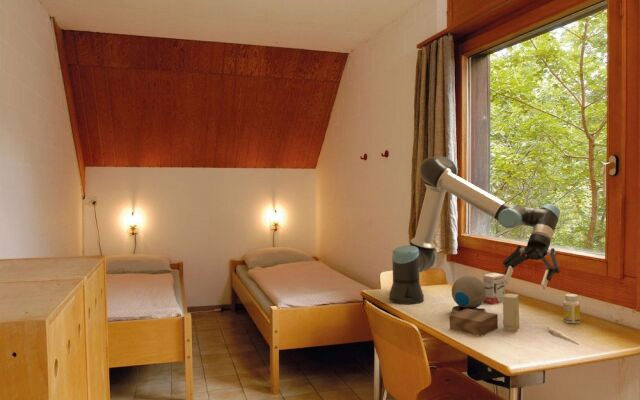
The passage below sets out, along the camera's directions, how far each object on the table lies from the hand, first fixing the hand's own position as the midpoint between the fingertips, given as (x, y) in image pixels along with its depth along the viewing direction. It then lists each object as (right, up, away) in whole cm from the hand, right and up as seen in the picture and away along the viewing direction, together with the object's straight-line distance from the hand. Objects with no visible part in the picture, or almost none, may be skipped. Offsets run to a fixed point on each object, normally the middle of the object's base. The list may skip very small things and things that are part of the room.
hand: (524, 284), depth 174 cm
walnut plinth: (-20, -15, -4) cm, 25 cm away
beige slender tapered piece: (+7, -15, -15) cm, 23 cm away
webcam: (-15, -14, +15) cm, 26 cm away
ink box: (+1, -13, +32) cm, 34 cm away
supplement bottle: (+18, -14, +1) cm, 23 cm away
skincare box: (-7, -15, -6) cm, 17 cm away
